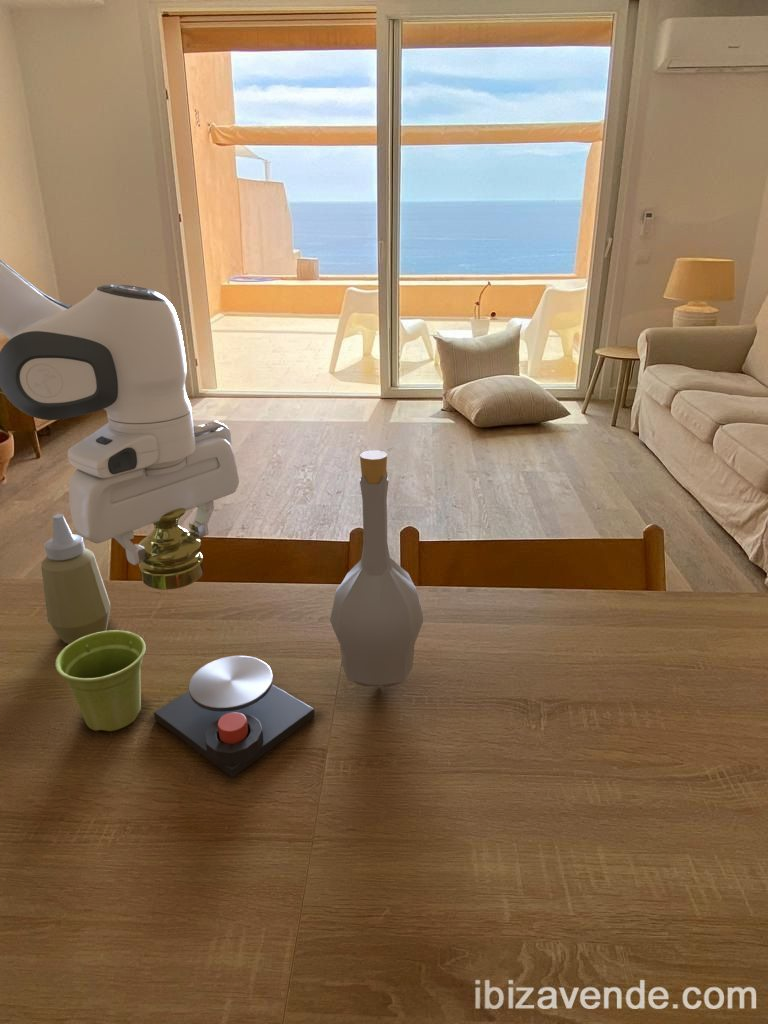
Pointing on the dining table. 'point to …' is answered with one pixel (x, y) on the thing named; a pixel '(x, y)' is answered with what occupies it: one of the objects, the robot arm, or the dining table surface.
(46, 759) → the dining table surface
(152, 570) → the gold ribbed tiered piece
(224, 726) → the tare button
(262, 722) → the scale
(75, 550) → the squeeze bottle
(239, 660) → the weighing pan
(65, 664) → the plant pot
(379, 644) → the bottle
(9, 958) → the dining table surface
